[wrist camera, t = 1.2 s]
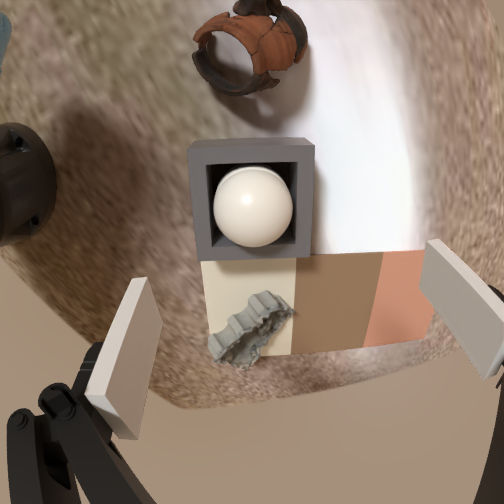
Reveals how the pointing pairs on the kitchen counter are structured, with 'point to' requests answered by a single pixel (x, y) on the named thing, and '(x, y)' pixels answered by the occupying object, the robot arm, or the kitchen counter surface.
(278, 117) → the kitchen counter surface
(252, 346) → the egg carton
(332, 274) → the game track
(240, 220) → the cream ball
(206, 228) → the housing
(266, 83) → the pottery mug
